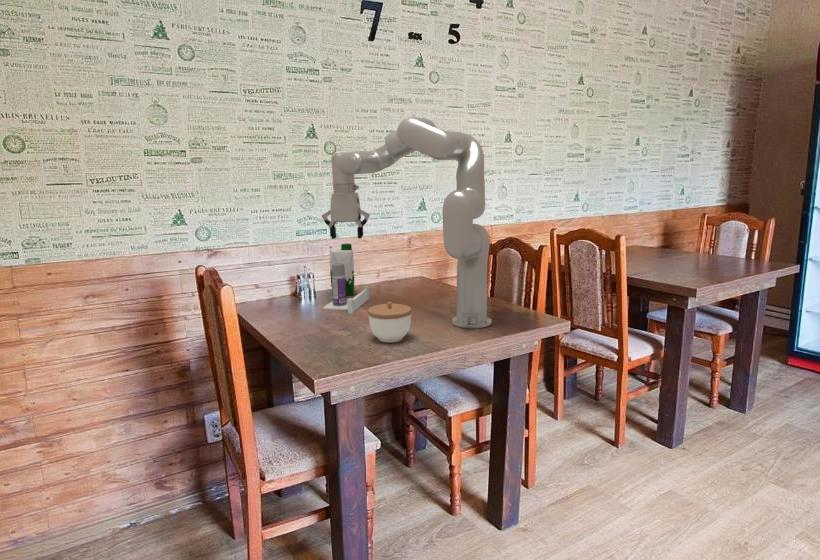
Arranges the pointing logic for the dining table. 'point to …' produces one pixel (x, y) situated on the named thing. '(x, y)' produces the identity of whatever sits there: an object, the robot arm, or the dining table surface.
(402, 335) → the lidded bowl
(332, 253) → the milk carton
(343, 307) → the white pad
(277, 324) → the dining table surface
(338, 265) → the container
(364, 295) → the acrylic wall
